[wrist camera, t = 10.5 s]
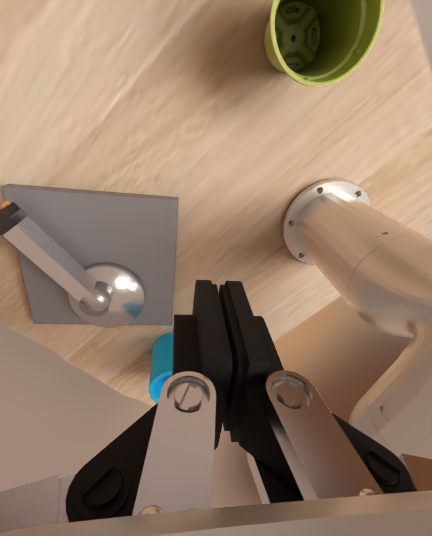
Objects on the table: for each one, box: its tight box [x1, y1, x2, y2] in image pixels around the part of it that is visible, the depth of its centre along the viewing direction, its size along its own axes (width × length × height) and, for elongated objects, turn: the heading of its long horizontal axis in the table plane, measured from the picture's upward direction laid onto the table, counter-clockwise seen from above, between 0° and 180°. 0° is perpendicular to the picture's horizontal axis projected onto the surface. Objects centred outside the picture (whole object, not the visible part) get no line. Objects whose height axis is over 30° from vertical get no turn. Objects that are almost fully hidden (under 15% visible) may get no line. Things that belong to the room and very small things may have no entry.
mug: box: [149, 333, 173, 403], centre depth 47 cm, size 12×8×8 cm
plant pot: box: [264, 0, 384, 87], centre depth 27 cm, size 9×9×9 cm
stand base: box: [0, 184, 178, 325], centre depth 40 cm, size 20×20×2 cm
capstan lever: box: [0, 202, 145, 327], centre depth 37 cm, size 10×21×5 cm, turn 33°
